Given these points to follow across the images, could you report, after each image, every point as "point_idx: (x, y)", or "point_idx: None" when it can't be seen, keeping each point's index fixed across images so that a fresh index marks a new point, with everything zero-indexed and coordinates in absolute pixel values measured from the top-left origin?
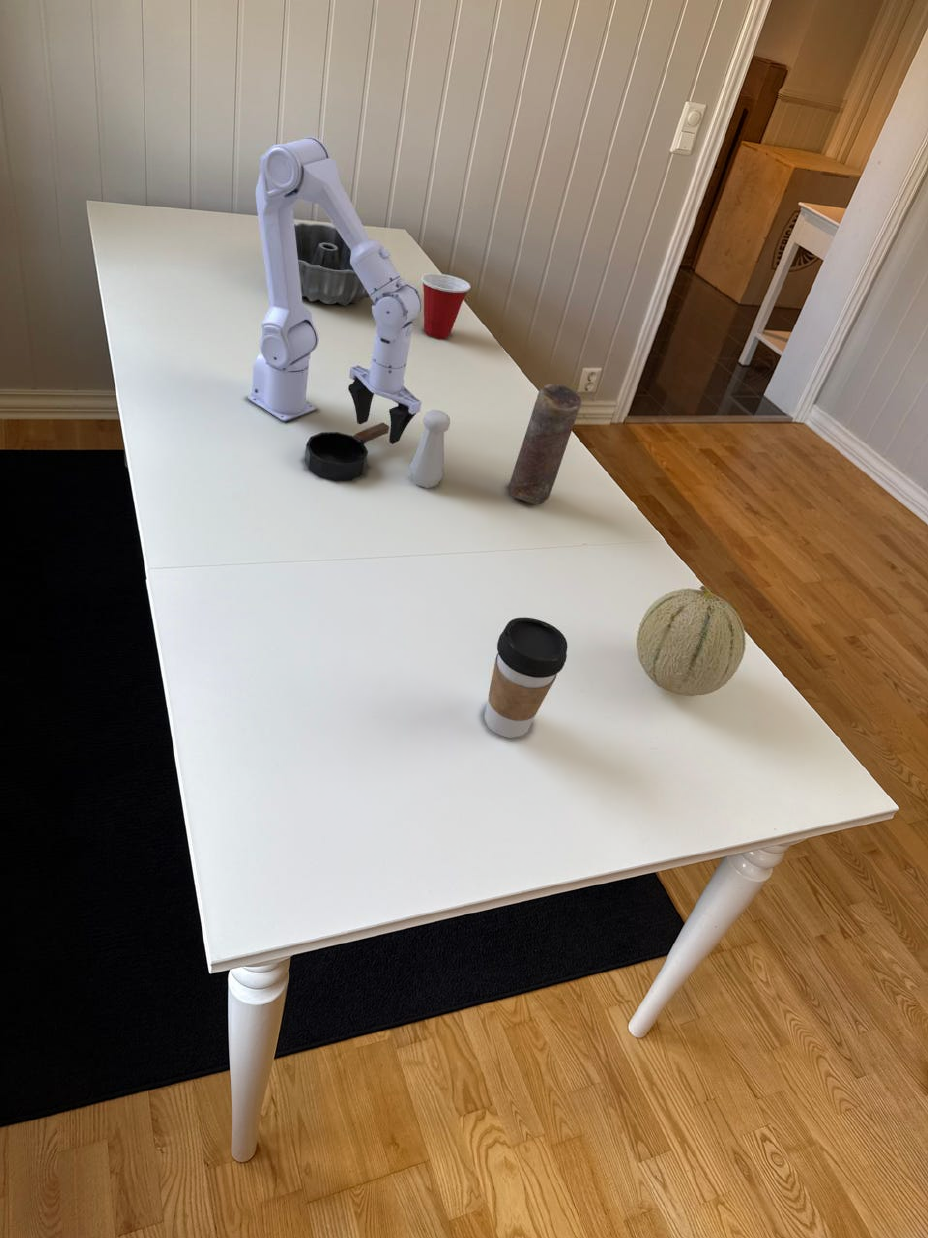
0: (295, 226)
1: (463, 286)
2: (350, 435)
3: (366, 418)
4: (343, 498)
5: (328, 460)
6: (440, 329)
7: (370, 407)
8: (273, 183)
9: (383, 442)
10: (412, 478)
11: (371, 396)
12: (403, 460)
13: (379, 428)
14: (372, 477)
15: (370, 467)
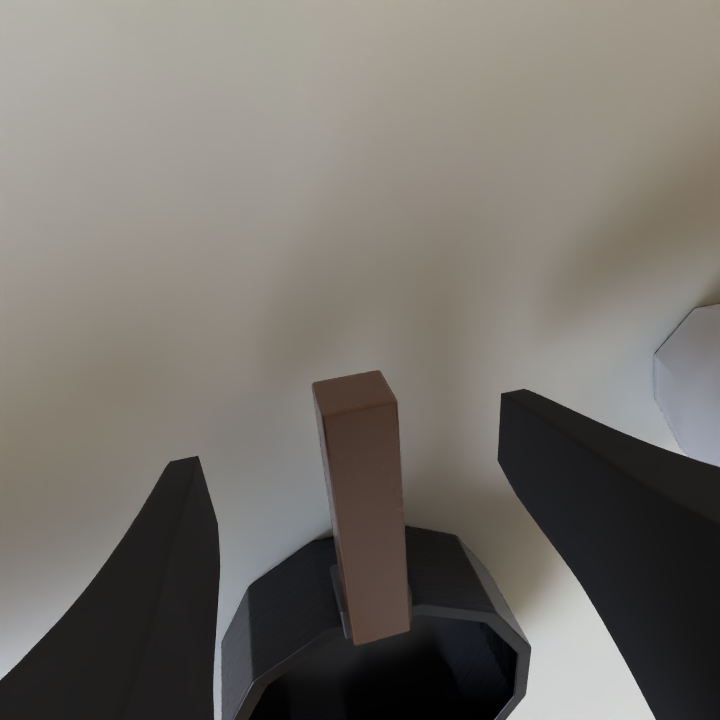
0: None
1: None
2: (322, 633)
3: (201, 490)
4: (538, 667)
5: (344, 660)
6: None
7: (178, 527)
8: None
9: (324, 326)
10: (657, 402)
11: (162, 649)
12: (530, 336)
13: (383, 485)
14: (523, 541)
15: (467, 515)
